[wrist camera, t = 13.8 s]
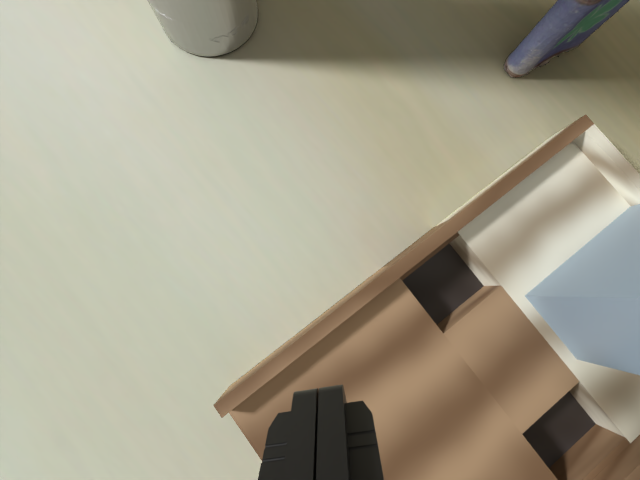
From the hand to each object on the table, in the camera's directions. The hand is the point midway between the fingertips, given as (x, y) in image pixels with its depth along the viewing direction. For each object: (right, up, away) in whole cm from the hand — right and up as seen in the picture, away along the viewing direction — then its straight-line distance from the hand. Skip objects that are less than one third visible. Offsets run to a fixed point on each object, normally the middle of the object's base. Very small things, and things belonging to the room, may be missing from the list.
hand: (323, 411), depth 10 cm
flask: (+22, +24, +23) cm, 39 cm away
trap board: (+13, -5, +18) cm, 23 cm away
